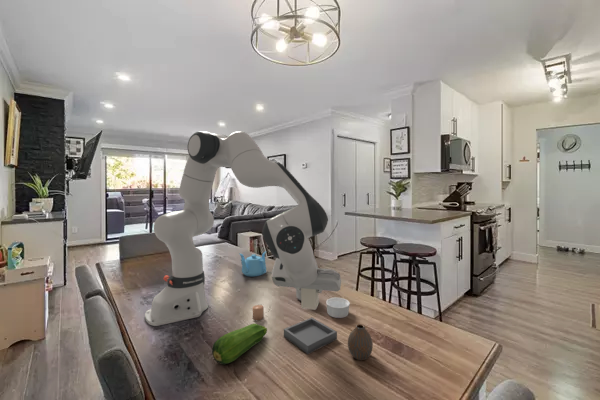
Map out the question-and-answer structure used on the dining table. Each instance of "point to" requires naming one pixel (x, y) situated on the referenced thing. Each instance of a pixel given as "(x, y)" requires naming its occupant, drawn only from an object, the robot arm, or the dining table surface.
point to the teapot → (253, 265)
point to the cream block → (309, 299)
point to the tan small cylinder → (258, 312)
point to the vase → (360, 343)
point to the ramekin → (337, 307)
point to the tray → (310, 335)
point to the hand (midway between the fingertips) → (310, 290)
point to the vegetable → (237, 343)
